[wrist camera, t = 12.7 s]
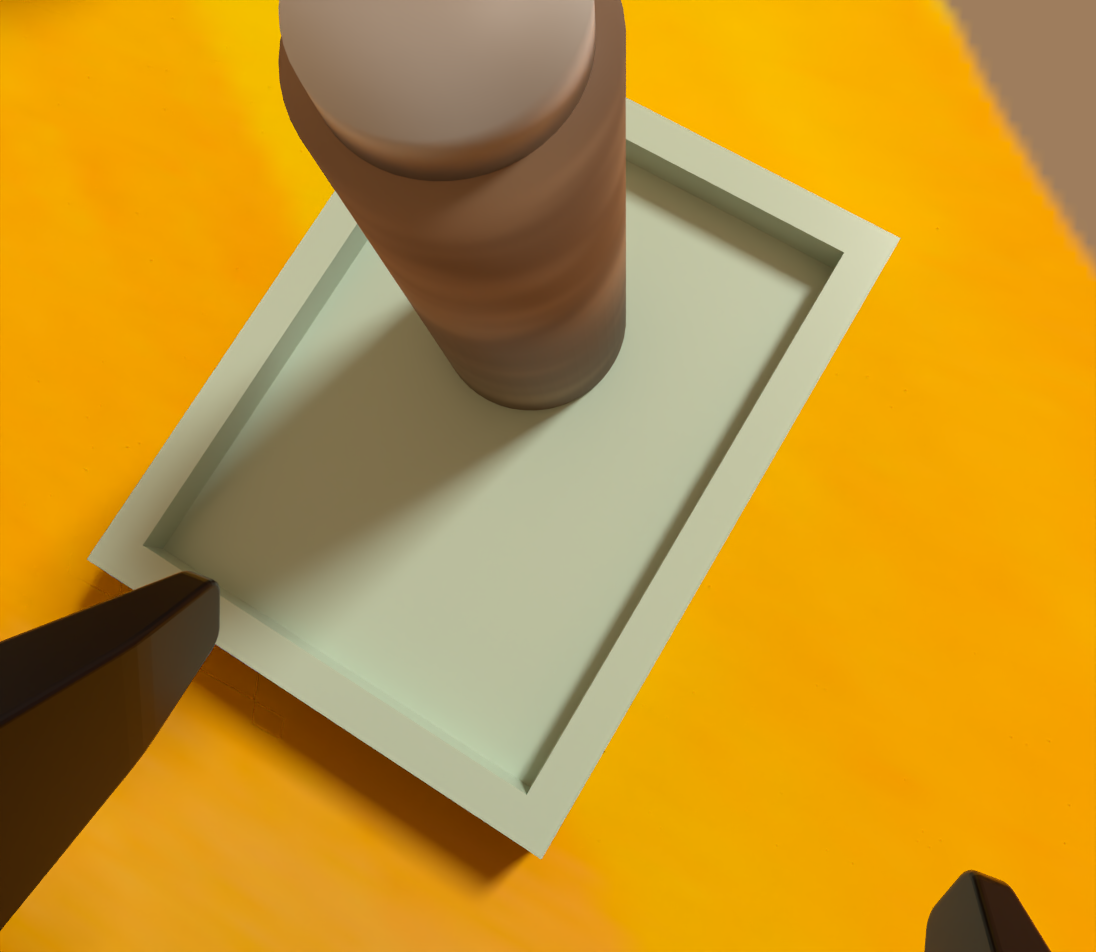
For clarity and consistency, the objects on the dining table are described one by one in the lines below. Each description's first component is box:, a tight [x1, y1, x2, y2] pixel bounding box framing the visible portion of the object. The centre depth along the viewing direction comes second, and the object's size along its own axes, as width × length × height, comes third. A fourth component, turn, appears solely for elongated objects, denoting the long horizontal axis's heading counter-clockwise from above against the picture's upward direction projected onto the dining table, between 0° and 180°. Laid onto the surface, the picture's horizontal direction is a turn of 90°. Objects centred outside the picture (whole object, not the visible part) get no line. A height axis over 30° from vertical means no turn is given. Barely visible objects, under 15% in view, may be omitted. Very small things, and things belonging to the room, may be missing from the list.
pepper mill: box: [279, 0, 626, 410], centre depth 17 cm, size 5×5×12 cm
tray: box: [87, 98, 900, 859], centre depth 23 cm, size 17×13×2 cm
